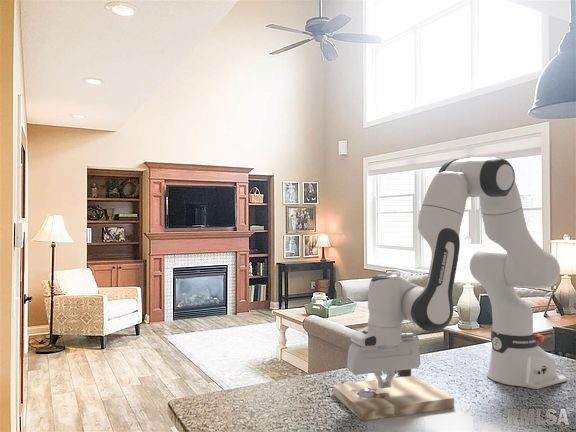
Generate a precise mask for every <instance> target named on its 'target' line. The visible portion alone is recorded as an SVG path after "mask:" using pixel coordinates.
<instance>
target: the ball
mask: <svg viewBox="0 0 576 432" xmlns="http://www.w3.org/2000/svg"><path fill="white" fill-rule="evenodd" d="M358 395H359V396H360V397H364V398H374V396H373V393H372V391H371V390H369V389H367V388H364V389H361V390H360V391H359V393H358Z"/></svg>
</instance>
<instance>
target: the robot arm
mask: <svg viewBox="0 0 576 432" xmlns="http://www.w3.org/2000/svg"><path fill="white" fill-rule="evenodd" d="M515 174H516V173H515V169H514V167H513V166H512V164H511V163H510V162H509V160H507V159H505V158H501V157H493V156H492V157H485V156H484V157H480V156H477V157H469V158H462V159H457V158H456V159H451V160H449V161H446V162H445V163H444V164H442V165H441V167H440V168H439V170H438V173H436V174H435V175H434V177H433V178H432V180H431V182H430V184H429V186H428V188H427V190H426V193H425V194H424V198H423V201H422V203H421V204H422V205H421V207H420V210H419V215H418V221H417V222H418V223H417V227H418V228H417V229H418V232H419V234H420V235H421V237H422V238H423V239H424V240H425V242H427V244H428V246H429V247H430V251H431V260H430V265H429V271H428V275H427V280H426V281H427V282H426V284H425V287H424V286H421V285H418V284H416V283H414V282H413V283H412V282H410V281H408V280H406V279H404V278H403V277H401V276H400V275H399V274H398V273H395V272H386V273H380V274H377V275H375V276H373V277H372V278H371V280H370V281H369V285H368V292H367V293H368V295H367V309H368V314H369V315H368V320H367V326H365V327H363V328H361V329H359V330H356V331H354V332H352V333H351V334H350V341H351V342H352V343H351V344H349V347H348V351H347V352H348V353H347V361H346V362H347V363H346V365H347V369H348V371H349V372H350V373H351V374H353V375H355V376H356V375H366V374H367V375H368V374H374V376H375V378H376V380H378V387H379V388H380V389H382V388H390V387H391V381H392V379H393V378H395V376H396V375H395V374H396V371H399V370H405V369H411V370H412V369H419V368H420V366H421V353H420V347H419V346H420V338H419V337H418V335H417V334H415V333H414V332H408V333H406V332H405V333H403V332H402V331H403V325H402V322H404V321H409V322H411V323H413V324H416V325H417V326H418V327H419V328H420V329H422V330H423V331H425V332H429V333H436V332H437V333H438V332H440V331H442V330H444V329H445V328H446V327H448V325H449V324H450V322H451V321H452V319H453V316H454V304H453V303H454V302H453V289H454V285H455V279H456V272H457V266H458V262H459V261H458V260H459V254H460V247H461V246H460V245H461V243H460V231H461V226H462V221H463V217H464V214H465V211H466V209H465V208H466V206H467V205H466V204H467V199H468V198H469V197H470V198H478V197H479V203H480V211H481V215H482V221H483V225H484V231H485V235H486V236H487V238H488V239H489V240H490V241H492V242H493V243H496V245H497V244H498V245H499V246H500V247H501V248H502V249H500V248H498V249H496V248H495V249H494V248H490V249H489V248H488V249H483V250H482V249H481V250H477V251H475V253H474V254H473V255H472V256H471V258H470V261H469V270H470V273H471V275H472V277H473V278H474V279H475V280H476V281H477V282H478V283H479V284H480V285H481V286H482V287H483V290H485V292H486V294H487V296H488V298H489V299H488V300H489V301H490V305H491V315H492V329H491V330H490V343H491V352H490V358H489V359H490V360H489V365H488V370H487V373H486V376H487V377H488V378H489V379H490V380H492V381H494V382H497V383H500V384H504V385H508V386H516V387H525V388H529V389H532V390H533V389H534V390H539V389H543V388H547V387H549V386H550V387H551V386H553V385H557V384H560V383H563V382H566V381H567V379H566V376H564V375H563V374H562V373H559V372H557V371H558V370H557V365H556V364H557V363H556V360H555V359H554V357H552V356H551V355H550V354H549V353H548V352H546V351H545V350H544V349H543V348H541V347H540V346H539V344H538V341H539V342H541V343H543V342H544V341H545V336H544V335H543V334H540V333H536V334H535V333H534V310H533V308H532V306H531V305H530V304H529V303H528V302H527V301H526V300H525V299H524V298H521V297H520V296H519V295H518V294H517V292H516V290H515V288H514V287H516V288H527V289H533V290H534V289H545V288H546V289H547V288H551V287H553V286H554V285H555V284H556V283H557V282H558V280H559V278H560V275H561V269H560V267H561V266H560V264H559V262H558V261H557V258H556V257H555V256H554V255H553V254H551V253H549V252H547V251H546V250H544V248H542V247H541V246H540V245H539V244H538V243H537V242H536V241H535V240H534V238H533V237H532V235H531V234H530V232H529V230H528V227H527V224H526V219H525V214H524V209H523V204H522V198H521V196H520V195H521V194H520V192H519V189H518V185H517V184H516V181H515V179H516V175H515ZM385 372H386V373H387V375H386V377H385V378H382V376H383V373H385ZM382 379H384V380H382Z"/></svg>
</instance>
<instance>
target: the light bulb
mask: <svg viewBox="0 0 576 432" xmlns="http://www.w3.org/2000/svg"><path fill="white" fill-rule="evenodd" d="M397 373H398V375H399V376H400V377H406V376H412V369H405V370H398V372H397Z"/></svg>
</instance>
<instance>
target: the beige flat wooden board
mask: <svg viewBox="0 0 576 432" xmlns="http://www.w3.org/2000/svg"><path fill="white" fill-rule="evenodd" d="M384 379H385V378H382V380H384ZM364 388H367V389H369V390H371V391H372V393H373V396H374V398H364V397H360V396H359V395H358V393H359V391H360V390H361V389H364ZM332 395H333V396H334V397H335V398H336V399H338V401H340V402H341V403H342V404H343V405H344V406H345V408H348V410H350V411H351V412H352V413H353V414H354V415H355V416H356V417H357V418H358V419H360V420H361V421H362V422H365V421H371V420H372V419H373V420H379V419H378V418H380V419H384V418H383V417H387V418H392V416H393V417H398V416H399V417H400V416H406V415H412V414H413V415H414V414H419V413H420V414H421V413H427V412H434V411H441V410H447V409H454V408H455V397H454V396H451V395H449V394H448V393H447V392H446V391H445V392H444V391H443V390H441V389H440V388H438V387H435V386H434V385H432V384H430V383H429V382H427V381H425V380H423V379H421V378H420V377H418V376H416V375H411V376H406V377H404V376H397V377H393V379H392V381H391V387H390V388H382V389H380V388H379V387H378V380H377V379H375V380H365V381H364V380H363V381H355V382H346V383H340V384H339V383H338V384H332Z"/></svg>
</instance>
